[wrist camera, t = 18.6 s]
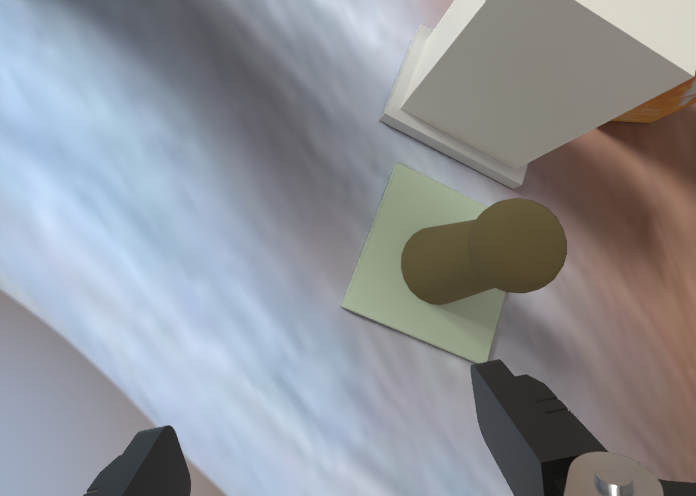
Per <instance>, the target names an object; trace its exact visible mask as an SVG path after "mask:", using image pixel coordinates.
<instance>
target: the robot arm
mask: <svg viewBox="0 0 696 496" xmlns="http://www.w3.org/2000/svg"><path fill="white" fill-rule="evenodd" d="M471 378H472V384H473V391H474V398H475V405H476V412H477V418H478V423H479V426H480V430H481V433H482V435H483V438H484V440H485V442H486V444H487V446H488V448H489V450H490V452H491V454H492V455H493V457H494V459H495V461H496V463H497V465H498V466H499V468H500V470H501V472H502V474H503V476H504V478H505V479H506V481H507V483H508V485H509V487H510V489H511V491H512V492H513V494H514V496H696V483H689V482H674V481H665V480H660V479H657V477H656V476H655V475H654V474H653V473H652V472H651V471H650V470H649V469H647V468H646V467H645V466H643V465H642V464H640V463H639V462H637V461H635V460H633V459H631V458H628V457H625V456H623V455H619V454H615V453H610V452H608V451H607V450H606V449H605V448H604V447H603V446H602V445H601V443H600V442H599V441H598V440H597V439H596V438H595V437H594V436H593V435H592V434H591V433H590V432H589V431H588V430H587V429H586V428H585V426H584V425H583V424H582V423H581V422H580V421H579V420H578V419H577V418H576V417H575V416H574V415H573V414H572V413H571V412H570V411H568V409H567V407H566V406H565V405H564V404H563V403H562V402H561V401H560V400H558V399H557V397H556V396H555V395H554V393H553V392H552V391H551V390H550V389H549V388H548V387H547V386H546V385H545V384H544V383H542V382H540V381H538V380H536V379H534V378H532V377H530V376H528V375H526V374H525V375H520V376H516V377H515V376H514V375H513V374H512V373H511V371H510V370H509V369H508V368H507V367H506V365H505V364H504V363H503V362H502V361H501V360H500V359H498V360H493V361H488V362H483V363H478V364H473V365H471ZM190 491H191V480H190V474H189V471H188V468H187V465H186V462H185V459H184V456H183V453H182V450H181V447H180V444H179V441H178V438H177V435H176V432H175V430H174V429H173V427H171V426H169V425H168V426H163V427H158V428H153V429H148V430H143V431H140V432H138V433H137V434H136V436H135V437H134V438H133V440H132V441H131V443H130V444H129V445H128V447H127V448H126V450H125V451H124V453H123V454H122V455H120V456H118V457H117V458H116V459H115V460H114V461H113V462H111V463H110V464H109V465H108V466H107V467H106V468H105V469H104V470H102V471H101V472H100V473H99V475H98V476H97V478H96V479H95V480H94V481H93V483H92V484H91V486H90V487H89V488H88V490H87V494H84V495H83V496H190Z"/></svg>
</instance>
